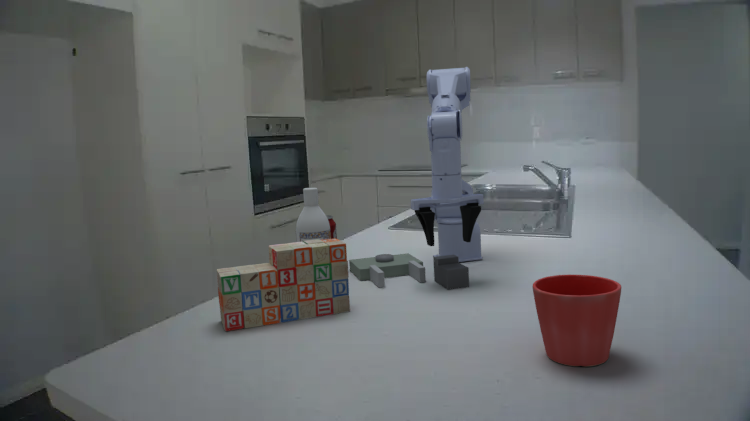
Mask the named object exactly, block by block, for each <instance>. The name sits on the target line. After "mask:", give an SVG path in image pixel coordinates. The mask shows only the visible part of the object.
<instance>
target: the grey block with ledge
mask: <svg viewBox="0 0 750 421" xmlns="http://www.w3.org/2000/svg"><path fill="white" fill-rule="evenodd" d="M432 258H433V277H434V278H433V279H434V280H433V281H434V282H435V283H437V284H438V285H439V286H441V287H442V288H444V289H445V290H447V291H451V290H458V289H466V288H470V278H469V277H470V276H469V275H470V274H469V270H470V269H469V266H466V265H464V264H462V263H461V262H459V259H458V256H456V255H445V256H436V257H433V256H432Z"/></svg>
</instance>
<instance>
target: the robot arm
mask: <svg viewBox="0 0 750 421" xmlns="http://www.w3.org/2000/svg"><path fill="white" fill-rule="evenodd" d="M471 84H472V83H471V68H469V67H468V66H465V67H453V68H440V69H439V68H438V69H428V71H427V72H426V90H427V91H426V92H427V97H428V101H429V102H428V103H429V104H430V108H431V114H430V115H429V114H428V115H427V118H426V133H427V139H428V142H429V152H431V153H430V161H431V162H430V164H431V191H430V192H431V195H430V196H427V197H421V198H412V199H410V210H412V211H414V213H415V215H416V218H418V219H417V220H418V221H419V223H420V225H421V227H422V230H423V232H424V236H425V240H426V243H427V244H426V245H427V246H429V247H434V246H435V230H434V228H435V221H436V224H437V236H438V237H437V239H438V242H437V244H438V254H433V255H432V258H433V257H436V256H445V255H456V256H458V259H459V263H463V262H471V261H479V260H483V256H482V240H481V238H482V237H481V236H482V235H481V234H482V232H481V227H480V225H479V223H478V221H477V219H478V218H479V216H480V214H481V212H482V206H481V205H484V203H485V201H484V200H485V199H484V195H485V194H483V193H474V189H473V187H472V185H471V184H470V183H469V182H467V181H465V180H464V179H463V178H462V156H461V154H462V151H461V150H462V149H461V148H462V147H461V141H462V139H463V116H462V112H463V110H464V109H466V108H468V107H469V106H470V102H471Z"/></svg>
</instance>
